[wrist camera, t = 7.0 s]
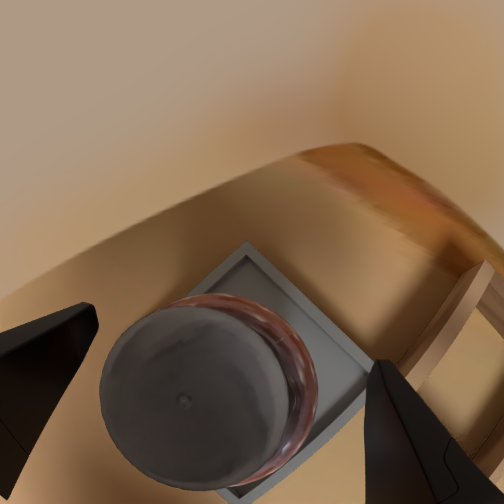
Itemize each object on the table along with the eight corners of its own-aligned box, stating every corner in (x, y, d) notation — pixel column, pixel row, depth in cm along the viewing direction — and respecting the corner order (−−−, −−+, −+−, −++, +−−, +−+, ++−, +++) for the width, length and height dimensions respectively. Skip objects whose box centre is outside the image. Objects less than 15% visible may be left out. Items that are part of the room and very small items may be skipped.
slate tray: (241, 501, 14) (238, 511, 13) (119, 368, 18) (107, 367, 16) (381, 376, 16) (389, 377, 15) (249, 249, 20) (246, 239, 18)
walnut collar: (459, 488, 13) (482, 501, 10) (363, 401, 16) (379, 407, 13) (539, 366, 15) (565, 362, 12) (461, 274, 18) (485, 259, 15)
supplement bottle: (165, 382, 16) (23, 377, 6) (238, 307, 18) (184, 202, 7) (245, 456, 14) (197, 569, 4) (320, 378, 16) (400, 382, 5)
